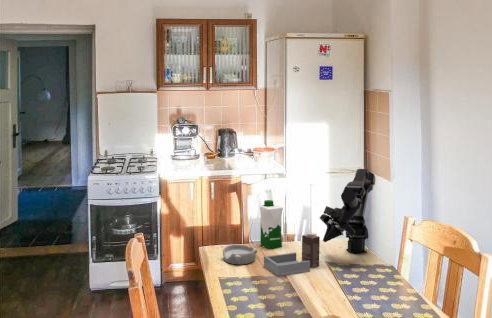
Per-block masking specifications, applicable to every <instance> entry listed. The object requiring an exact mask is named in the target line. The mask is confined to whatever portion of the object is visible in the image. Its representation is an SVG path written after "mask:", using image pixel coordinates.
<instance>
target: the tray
mask: <svg viewBox="0 0 492 318" xmlns="http://www.w3.org/2000/svg"><path fill="white" fill-rule="evenodd" d="M263 267H264V268H265V269H267V270H268V271H270V272H271V273H272V274H274V275H276V276H277V277H282V276H289V275H295V274H302V273H308V272H311V267H310V261H309V260H308V261H302V260H301V261H298V260H297V253H296V252H288V253H280V254H273V255H268V256H267V255H265V256H263Z"/></svg>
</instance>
